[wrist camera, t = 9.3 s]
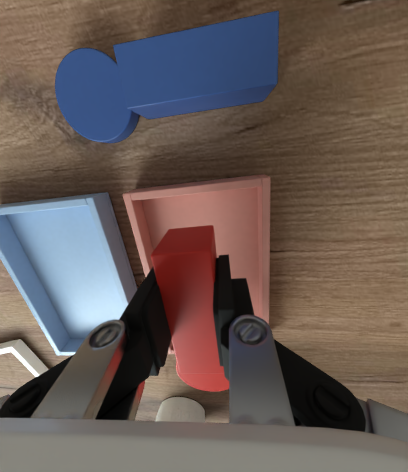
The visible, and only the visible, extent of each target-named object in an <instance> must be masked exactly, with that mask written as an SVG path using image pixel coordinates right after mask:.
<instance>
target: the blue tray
mask: <svg viewBox="0 0 408 472" xmlns="http://www.w3.org/2000/svg"><path fill="white" fill-rule="evenodd" d="M0 259H1V261H2V262H3V264H4V266H5V267H6V269H7V271H8V272H9V274H10V276H11V278H12V279H13V281H14V283H15V284H16V286H17V288H18V289H19V291H20V293H21V295H22V296H23V298H24V300H25V301H26V303H27V305H28V307H29V308H30V310H31V312H32V313H33V315H34V317H35V318H36V320H37V322H38V324H39V325H40V327H41V329H42V330H43V332H44V334H45V335H46V337H47V339H48V341H49V342H50V344H51V346H52V347H53V349H54V351H55V353H56V354H57V355H74V354H75V353H76V351H77V350H78V348H79V347H80V345H81V344H82V343H83V341H84V340H85V338H86V337H87V335H88V334H89V333H90V332H91V331H92V330H93V329H94V328H95V327H97V326H98V325H100V324H102V323H103V322H106V321H109V320H114V319H115V320H119V319H120V317H121V315H122V314H123V312H124V311H125V309H126V307H127V306H128V304H129V303H130V301H131V299H132V298H133V296H134V294H135V293H136V291H137V290H138V289H137V286H136V283H135V279H134V276H133V273H132V269H131V266H130V263H129V259H128V256H127V253H126V250H125V246H124V243H123V240H122V236H121V233H120V230H119V227H118V223H117V220H116V217H115V213H114V210H113V207H112V203H111V200H110V197H109V194H108V192H105V193H96V194H87V195H79V196H70V197H61V198H53V199H44V200H35V201H27V202H18V203H9V204H1V205H0Z"/></svg>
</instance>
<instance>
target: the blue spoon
mask: <svg viewBox="0 0 408 472" xmlns="http://www.w3.org/2000/svg"><path fill="white" fill-rule="evenodd" d="M278 33H279V11H274V12H269V13H264V14H259V15H254V16H250V17H245V18H240V19H235V20H230V21H226V22H221V23H216V24H211V25H206V26H202V27H197V28H192V29H187V30H183V31H178V32H173V33H168V34H163V35H159V36H154V37H149V38H144V39H139V40H135V41H130V42H125V43H120V44H116V45H113V48H114V52H115V56H116V61H117V63H116V62H115V61H114V60H113V59H112V58H111V57H109V56H108V55H107V54H105V53H103V52H102V51H99V50H97V49H93V48H79V49H76V50H73V51H72V52H70V53H69V54H67V55H66V56H65V57H64V58H63V60H62V61H61V63H60V65H59V67H58V70H57V73H56V79H55V91H56V97H57V101H58V105H59V107H60V110H61V112H62V114H63V116H64V117H65V119H66V120H67V122H68V123H69V124H70V126H71V127H72V128H73V129H74V130H75V131H77V132H78V133H79V134H80V135H82V136H83V137H85V138H87V139H89V140H92V141H96V142H104V143H116V142H120V141H122V140H124V139H126V138H127V137H128V136H129V135H130V134H131V133H132V132H133V130H134V129H135V127H136V125H137V122H138V118H139V115H141V116H143V117H145V118H147V119H155V118H161V117H168V116H174V115H180V114H187V113H193V112H199V111H206V110H212V109H218V108H225V107H231V106H237V105H244V104H250V103H256V102H263V101H264V100H265V98H266V97H267V96H268V95H269V93H270V92H271V91H272V90H273V88H274V87H275V86H276V85H277V83H278Z"/></svg>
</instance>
